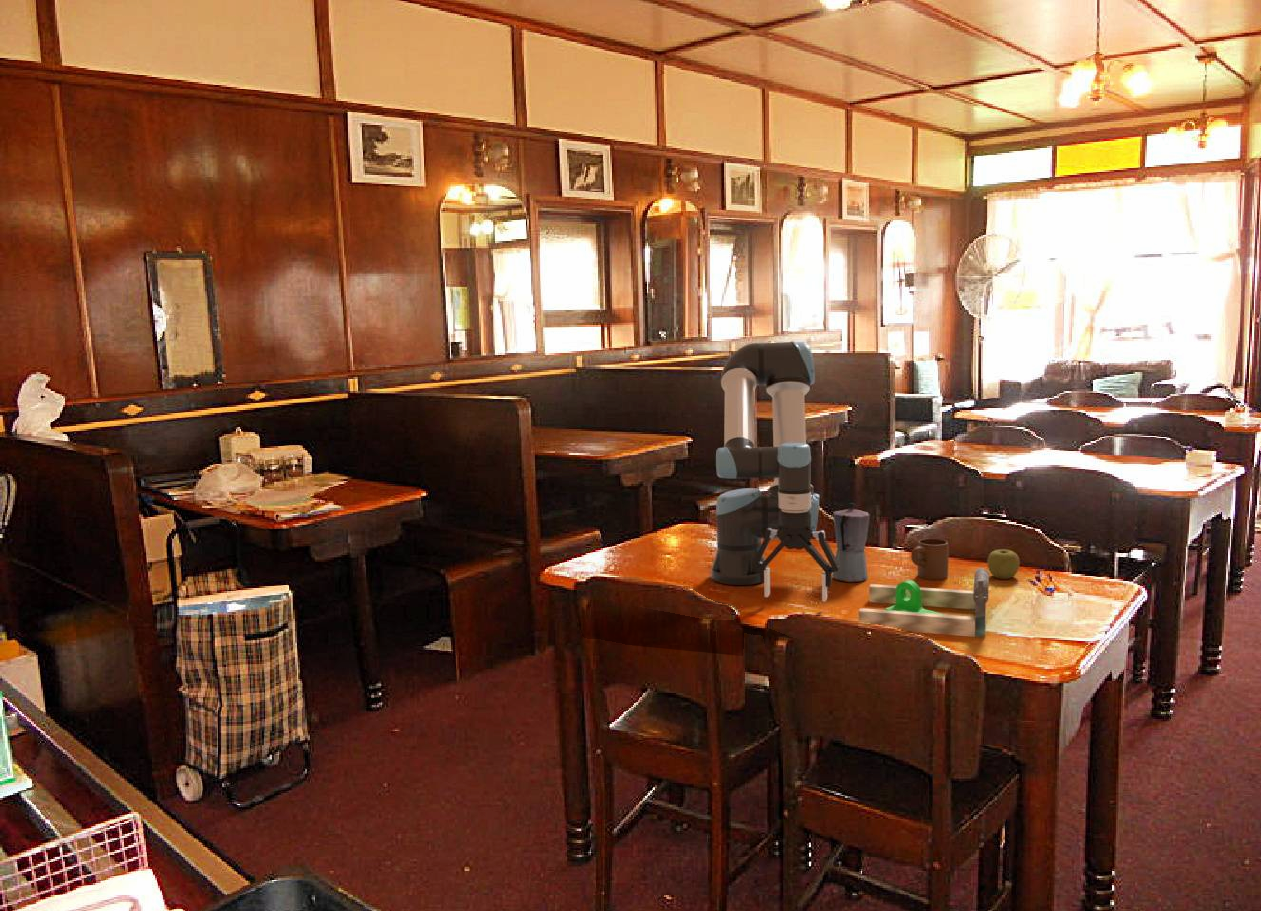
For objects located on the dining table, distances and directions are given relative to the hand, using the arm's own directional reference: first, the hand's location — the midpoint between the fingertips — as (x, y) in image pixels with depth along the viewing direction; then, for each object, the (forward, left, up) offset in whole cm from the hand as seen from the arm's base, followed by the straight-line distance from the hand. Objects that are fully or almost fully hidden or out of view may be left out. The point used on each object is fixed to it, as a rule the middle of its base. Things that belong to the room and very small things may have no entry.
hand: (795, 597), depth 220 cm
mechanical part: (+27, -1, -3) cm, 27 cm away
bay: (+28, 0, -3) cm, 28 cm away
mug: (+28, +32, -3) cm, 43 cm away
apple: (+46, +37, -3) cm, 59 cm away
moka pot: (+9, +27, -3) cm, 29 cm away
